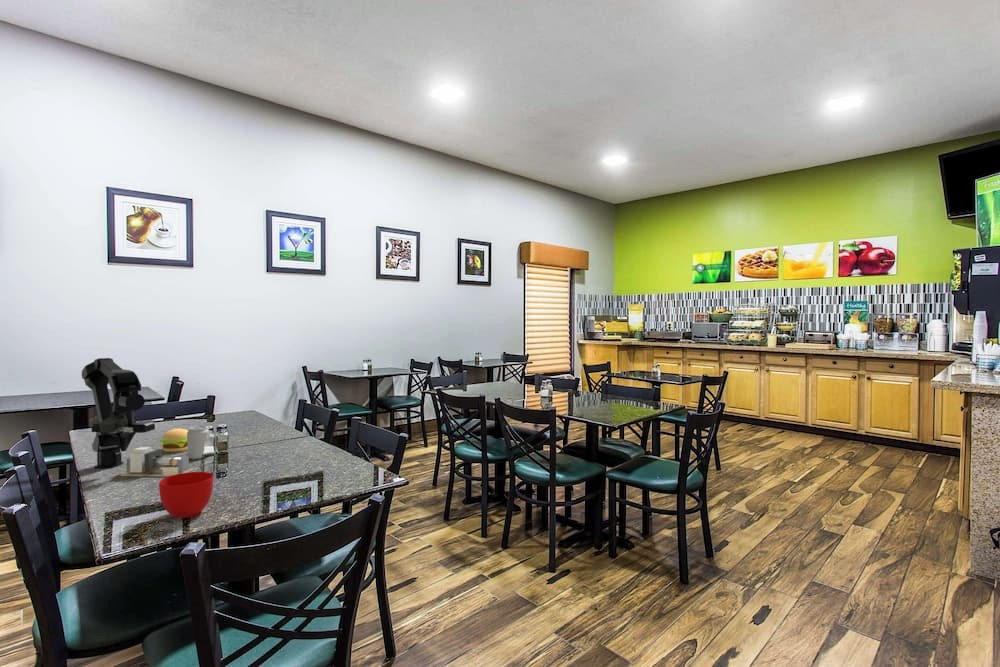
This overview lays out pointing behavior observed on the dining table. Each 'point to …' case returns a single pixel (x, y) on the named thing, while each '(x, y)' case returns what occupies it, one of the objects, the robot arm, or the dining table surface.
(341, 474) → the dining table surface
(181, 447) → the hamburger
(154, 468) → the block
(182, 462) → the beige mechanical fixture
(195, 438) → the can
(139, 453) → the bracket
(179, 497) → the red bowl
